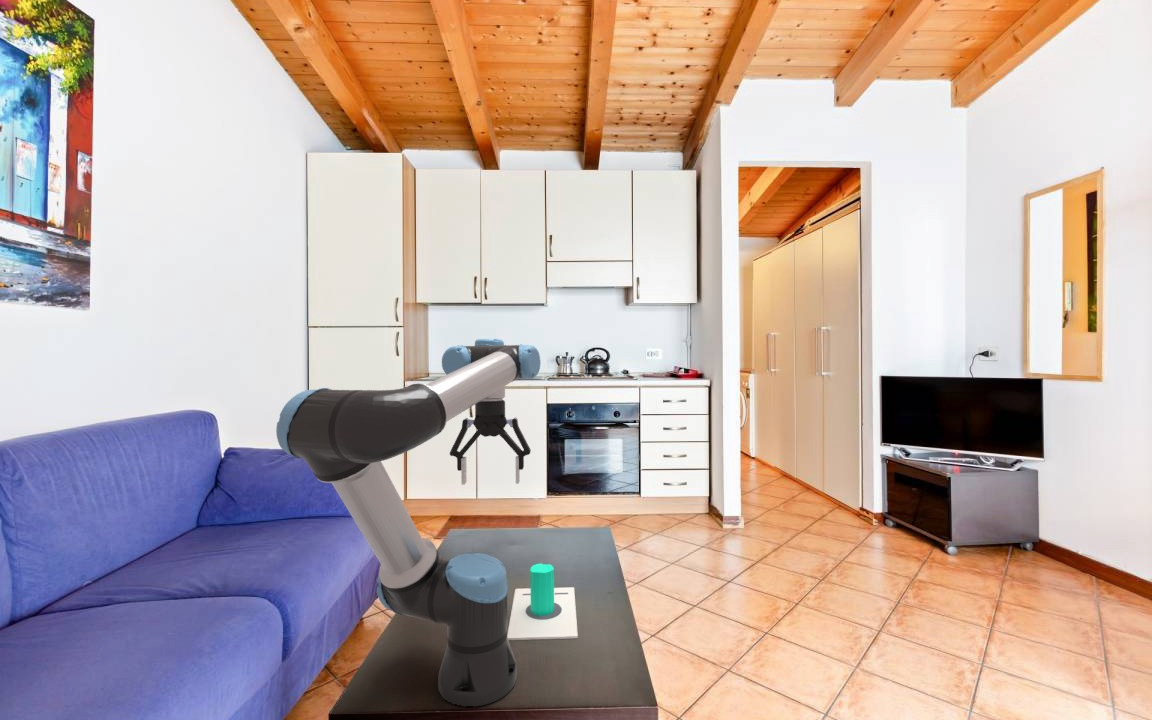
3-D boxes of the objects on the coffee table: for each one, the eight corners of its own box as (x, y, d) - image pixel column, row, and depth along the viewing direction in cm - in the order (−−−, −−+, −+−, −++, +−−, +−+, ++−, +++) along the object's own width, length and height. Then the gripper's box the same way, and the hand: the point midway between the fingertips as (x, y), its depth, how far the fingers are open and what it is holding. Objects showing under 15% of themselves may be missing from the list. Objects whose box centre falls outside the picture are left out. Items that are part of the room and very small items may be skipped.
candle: (551, 617, 121) (550, 567, 121) (527, 614, 122) (527, 566, 122) (557, 605, 127) (556, 558, 127) (534, 603, 128) (533, 556, 128)
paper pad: (577, 638, 113) (577, 635, 113) (506, 640, 112) (506, 637, 112) (574, 589, 137) (574, 587, 137) (515, 590, 136) (515, 588, 136)
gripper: (437, 401, 123) (437, 487, 123) (538, 400, 124) (539, 485, 124) (444, 398, 130) (444, 479, 130) (539, 397, 131) (540, 478, 131)
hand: (490, 482), depth 127 cm, fingers open, 13 cm apart
